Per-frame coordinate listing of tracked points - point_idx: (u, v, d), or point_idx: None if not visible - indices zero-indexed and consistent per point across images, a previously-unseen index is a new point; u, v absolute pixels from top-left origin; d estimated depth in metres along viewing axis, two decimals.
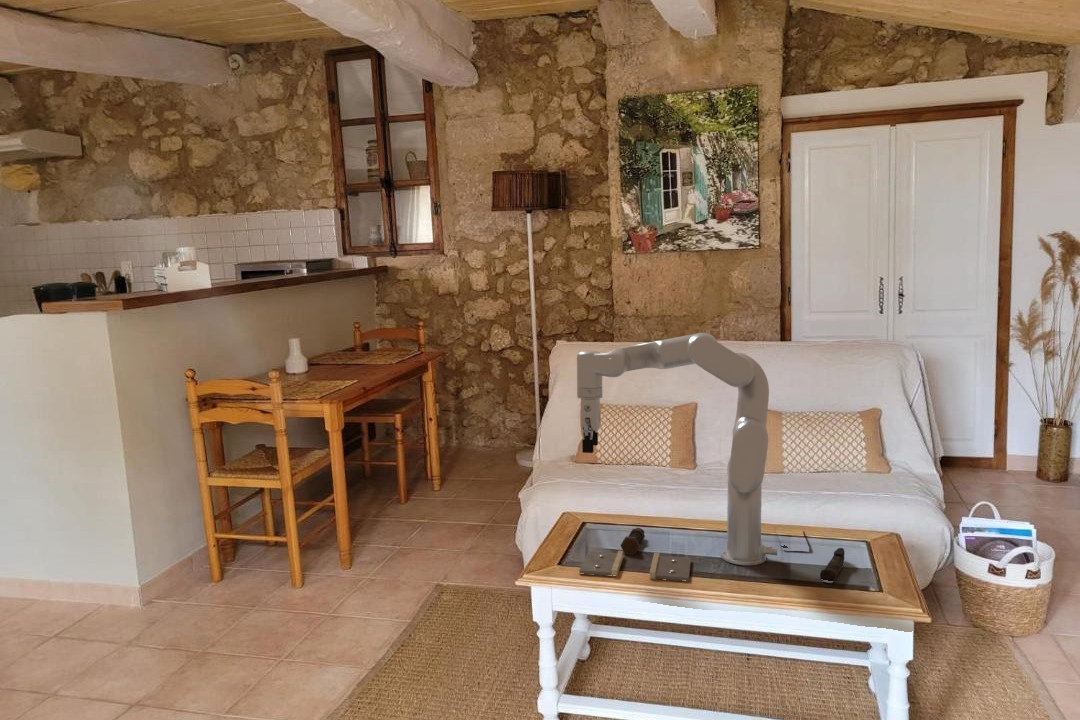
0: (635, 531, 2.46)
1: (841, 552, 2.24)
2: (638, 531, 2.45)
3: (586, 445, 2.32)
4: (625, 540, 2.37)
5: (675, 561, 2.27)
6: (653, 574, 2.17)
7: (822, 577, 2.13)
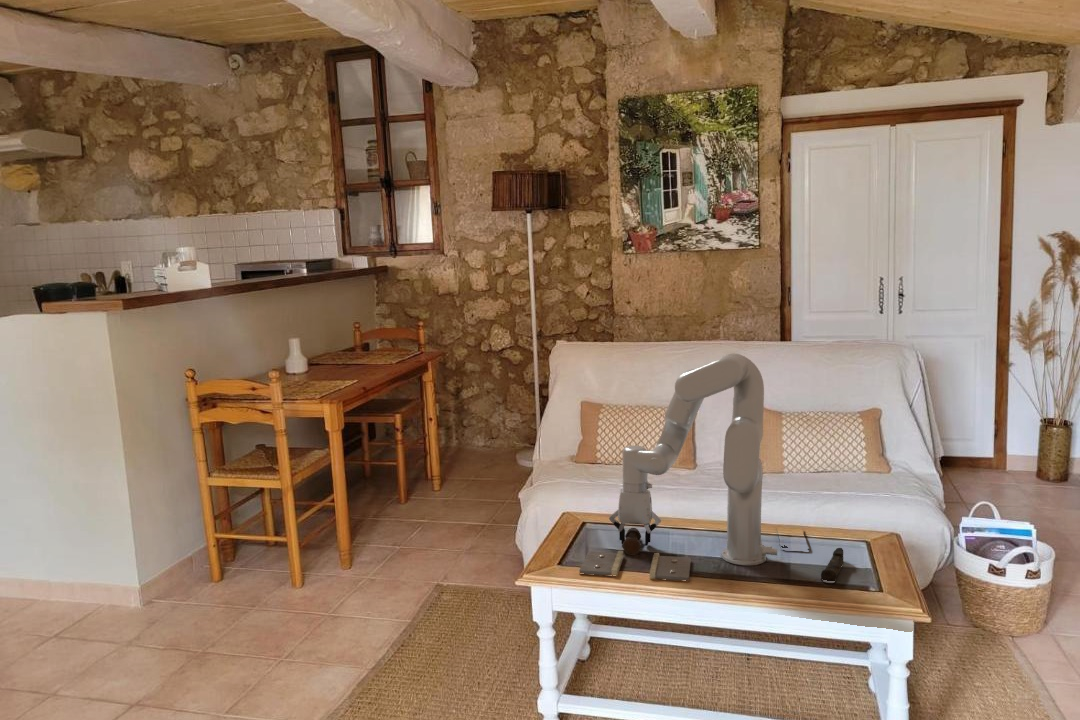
0: (632, 531, 2.46)
1: (840, 552, 2.24)
2: (635, 531, 2.45)
3: (650, 537, 2.42)
4: (627, 541, 2.36)
5: (675, 561, 2.27)
6: (653, 574, 2.17)
7: (823, 577, 2.13)
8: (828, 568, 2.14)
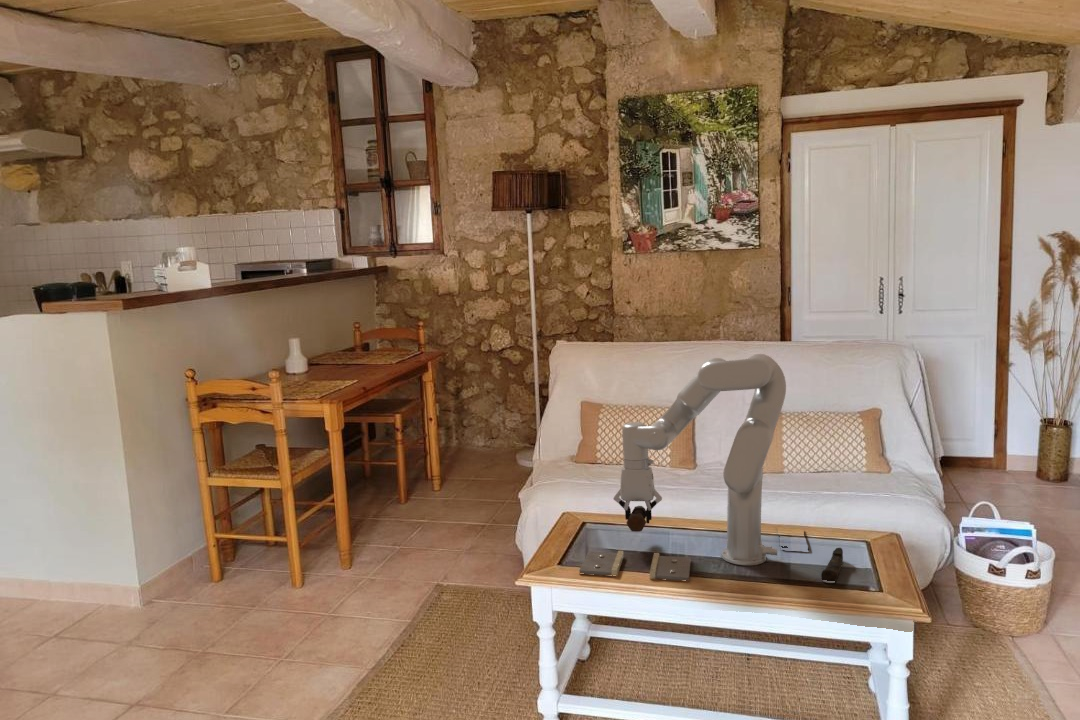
0: (638, 509, 2.44)
1: (840, 552, 2.24)
2: (641, 508, 2.44)
3: None
4: (631, 517, 2.35)
5: (675, 561, 2.27)
6: (653, 574, 2.17)
7: (823, 577, 2.13)
8: (828, 568, 2.14)
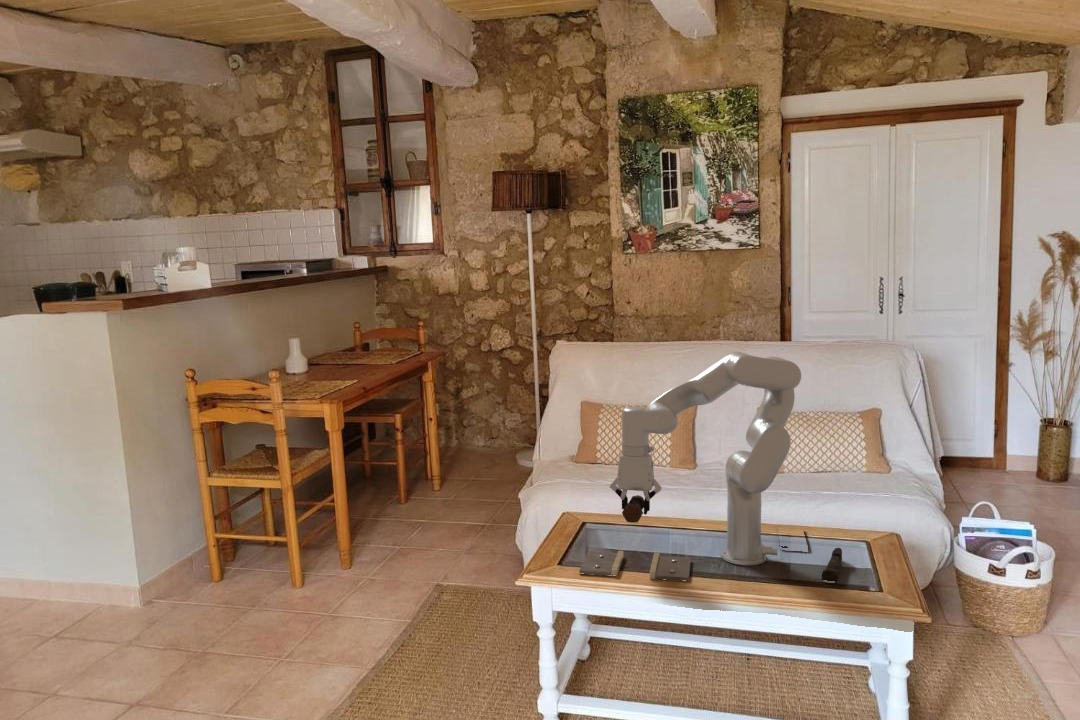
0: (635, 498, 2.29)
1: (839, 552, 2.24)
2: (638, 498, 2.29)
3: (649, 505, 2.26)
4: (627, 507, 2.20)
5: (675, 561, 2.27)
6: (653, 574, 2.17)
7: (824, 577, 2.13)
8: (828, 568, 2.14)
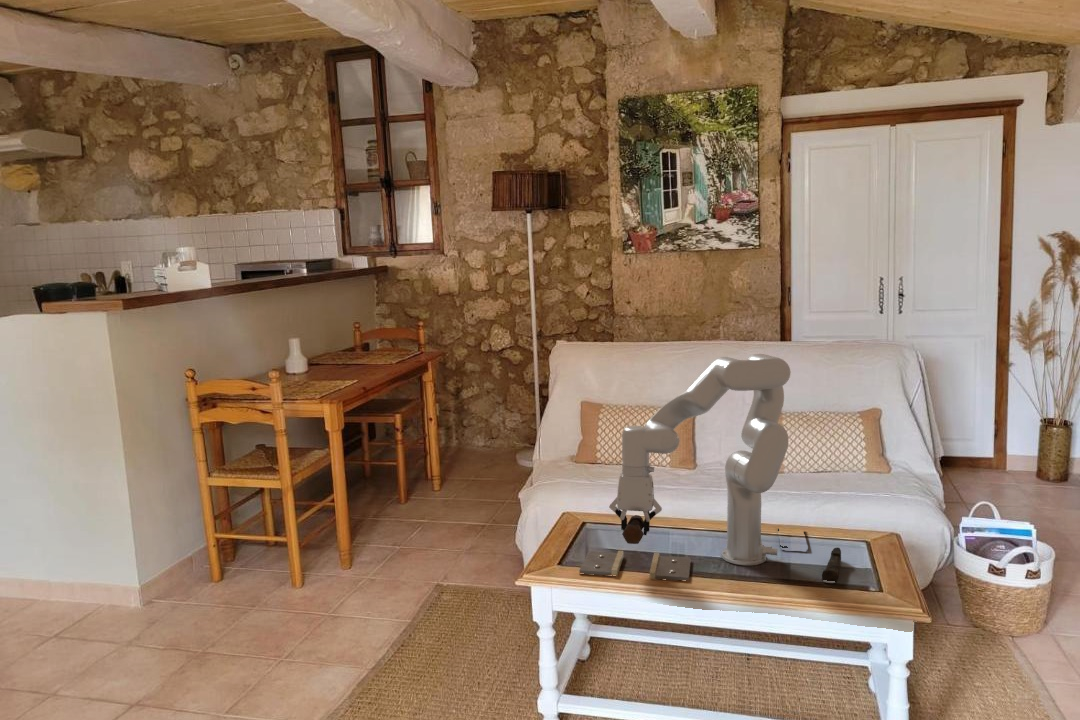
0: (635, 518, 2.26)
1: (838, 552, 2.24)
2: (638, 518, 2.26)
3: None
4: (627, 528, 2.17)
5: (675, 561, 2.27)
6: (653, 574, 2.17)
7: (824, 578, 2.13)
8: (829, 568, 2.14)
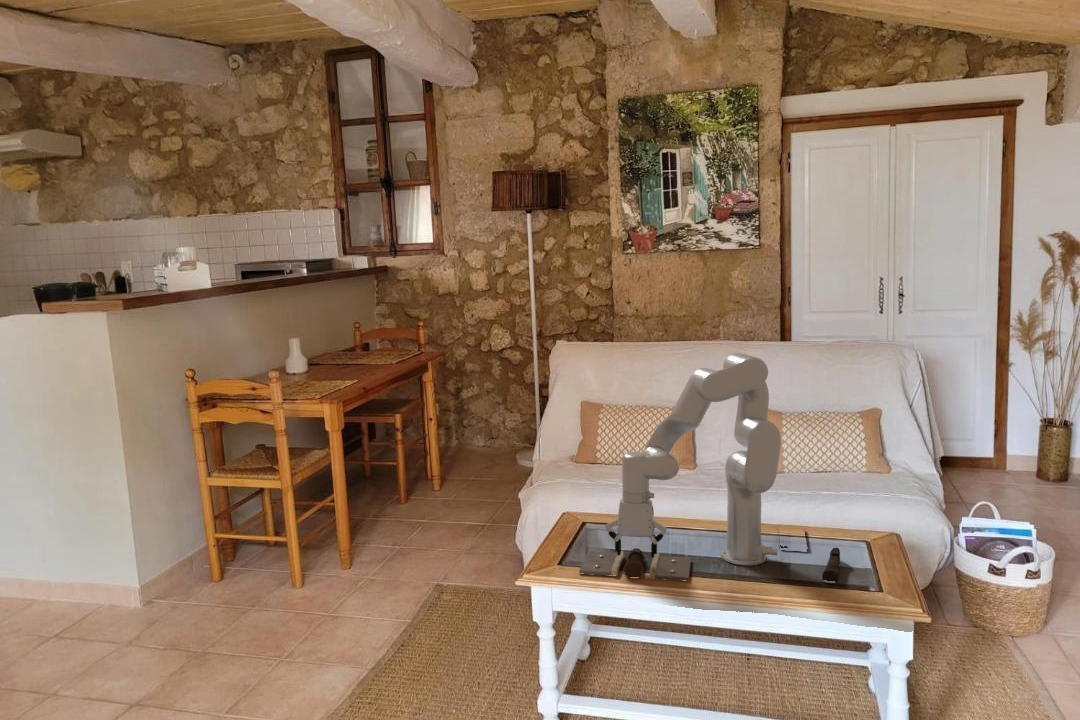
0: (635, 552, 2.27)
1: (837, 552, 2.24)
2: (638, 552, 2.27)
3: (656, 548, 2.24)
4: (628, 564, 2.18)
5: (675, 561, 2.27)
6: (653, 574, 2.17)
7: (824, 578, 2.13)
8: (829, 568, 2.14)
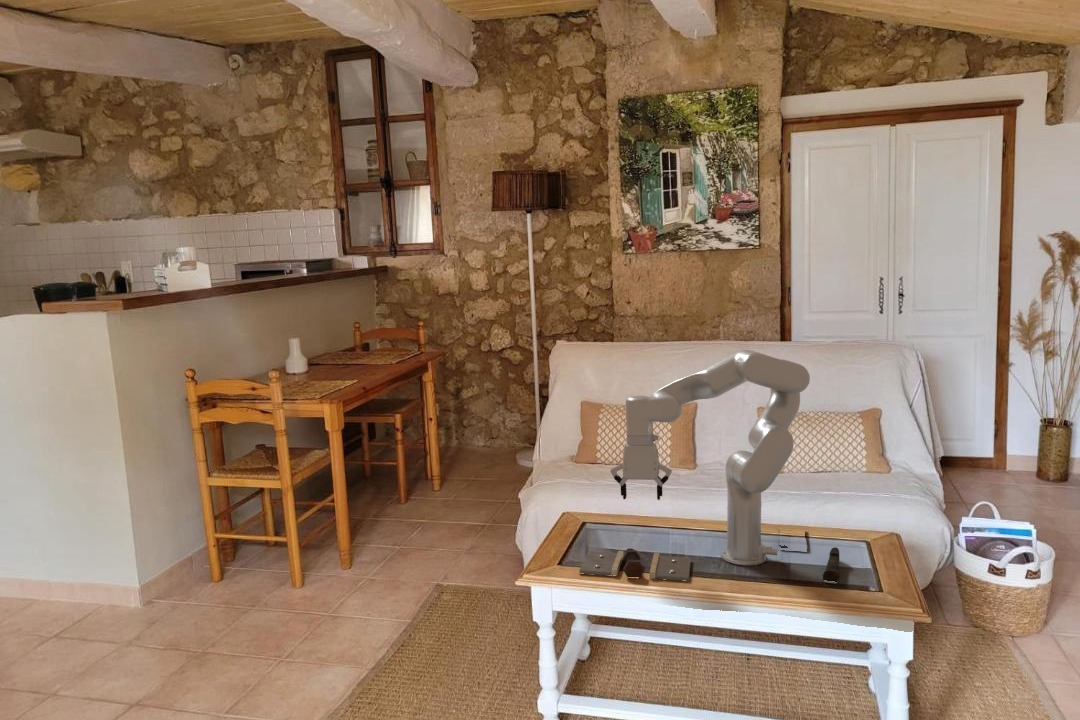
0: (631, 553, 2.27)
1: (837, 552, 2.24)
2: (634, 552, 2.27)
3: None
4: (629, 564, 2.18)
5: (675, 561, 2.27)
6: (653, 574, 2.17)
7: (825, 578, 2.13)
8: (829, 568, 2.14)
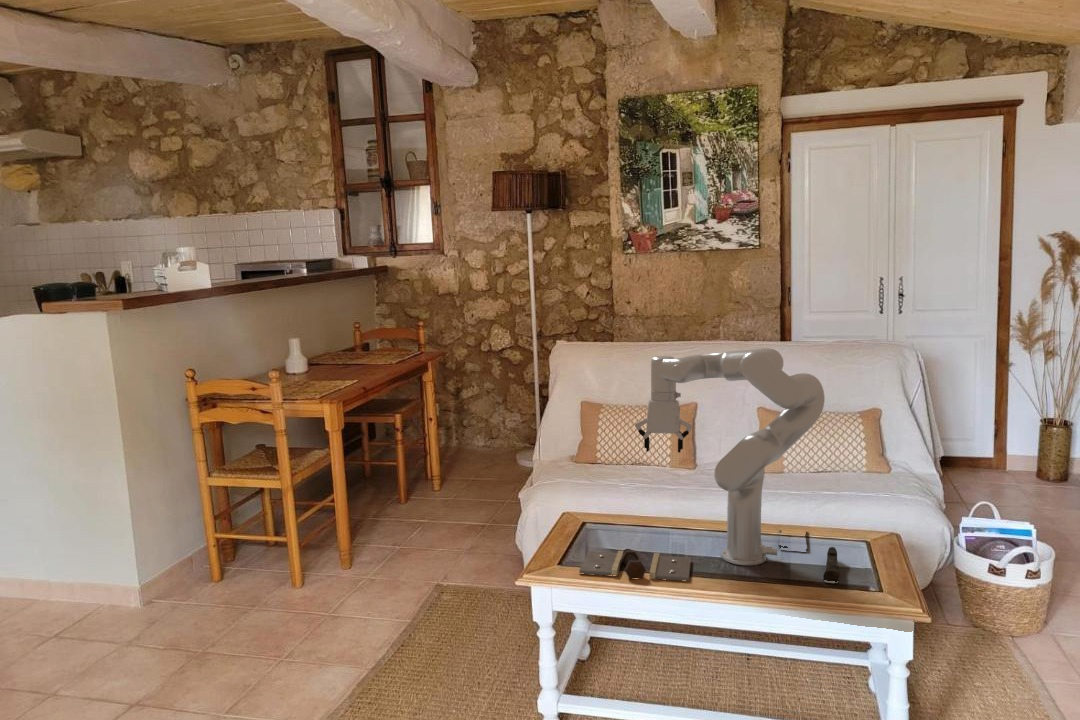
0: (630, 553, 2.27)
1: (834, 551, 2.25)
2: (633, 553, 2.27)
3: (682, 444, 2.44)
4: (630, 564, 2.18)
5: (675, 561, 2.27)
6: (653, 574, 2.17)
7: (826, 578, 2.13)
8: (829, 568, 2.14)
